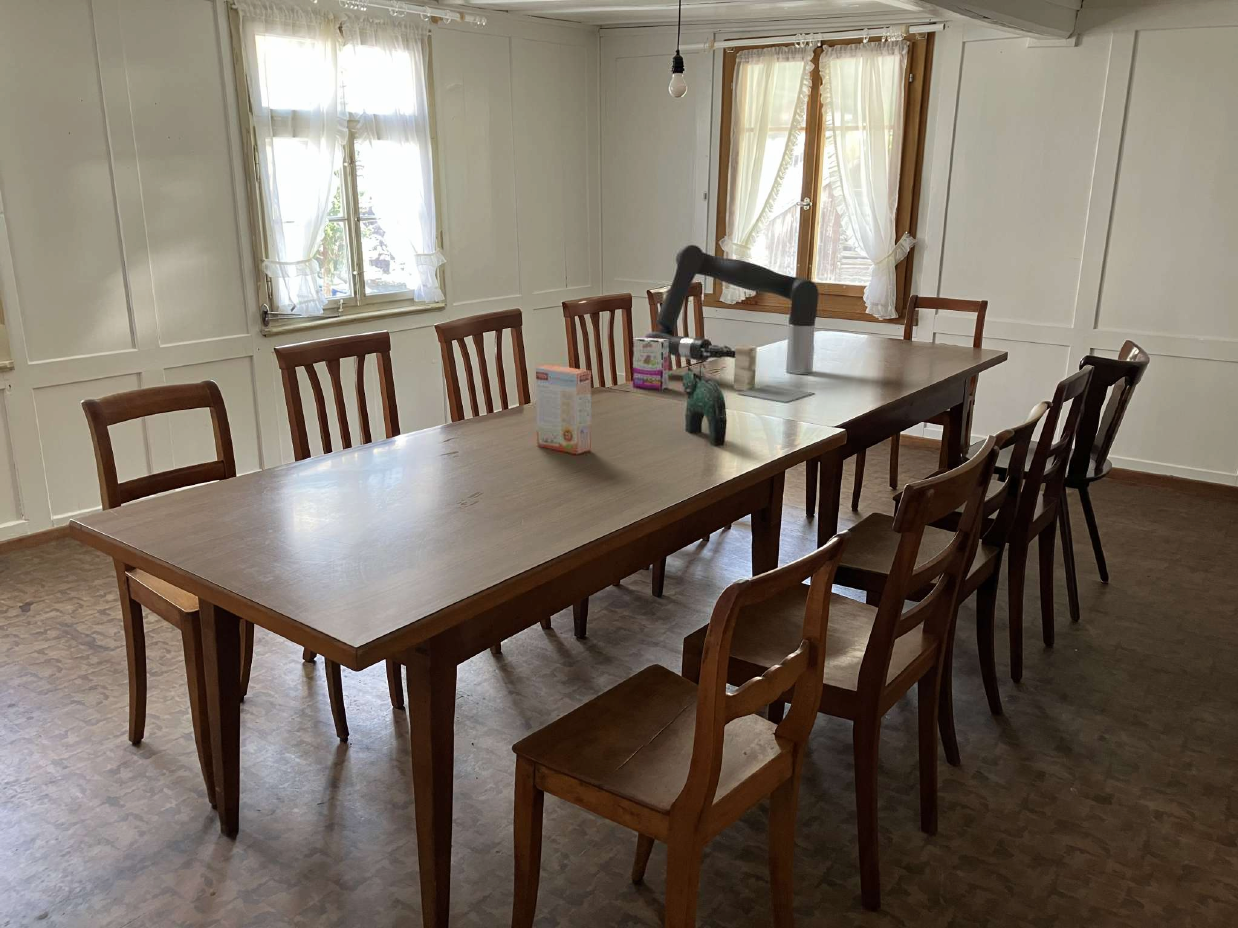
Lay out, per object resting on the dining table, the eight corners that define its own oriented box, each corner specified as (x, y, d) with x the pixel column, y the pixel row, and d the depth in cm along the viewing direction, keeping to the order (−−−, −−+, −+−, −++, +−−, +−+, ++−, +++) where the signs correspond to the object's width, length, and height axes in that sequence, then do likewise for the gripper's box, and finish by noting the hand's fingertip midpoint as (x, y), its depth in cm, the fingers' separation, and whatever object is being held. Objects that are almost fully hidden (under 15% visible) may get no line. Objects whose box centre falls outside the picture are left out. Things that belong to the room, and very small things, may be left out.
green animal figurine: (679, 429, 270) (681, 358, 265) (700, 427, 272) (702, 357, 267) (710, 447, 252) (713, 371, 247) (732, 445, 255) (735, 370, 249)
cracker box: (592, 450, 248) (592, 370, 243) (576, 455, 244) (576, 373, 238) (551, 441, 257) (550, 363, 251) (536, 446, 252) (534, 366, 246)
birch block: (742, 386, 327) (744, 345, 323) (754, 388, 324) (756, 347, 320) (733, 388, 323) (735, 347, 319) (746, 391, 320) (748, 348, 316)
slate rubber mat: (767, 386, 328) (767, 385, 328) (814, 394, 316) (814, 392, 316) (737, 394, 315) (737, 393, 315) (785, 403, 303) (785, 401, 303)
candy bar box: (668, 388, 324) (669, 339, 319) (662, 390, 319) (663, 341, 315) (638, 384, 329) (639, 336, 324) (631, 387, 324) (632, 338, 320)
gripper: (683, 340, 328) (726, 346, 317) (707, 335, 337) (748, 341, 326) (683, 362, 330) (725, 368, 319) (706, 357, 339) (747, 363, 328)
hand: (737, 354), depth 323 cm, fingers closed
